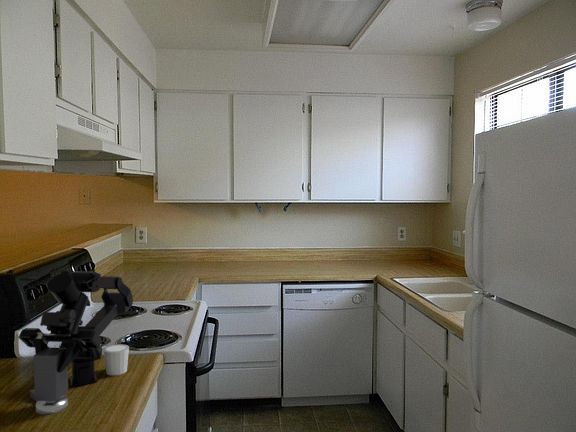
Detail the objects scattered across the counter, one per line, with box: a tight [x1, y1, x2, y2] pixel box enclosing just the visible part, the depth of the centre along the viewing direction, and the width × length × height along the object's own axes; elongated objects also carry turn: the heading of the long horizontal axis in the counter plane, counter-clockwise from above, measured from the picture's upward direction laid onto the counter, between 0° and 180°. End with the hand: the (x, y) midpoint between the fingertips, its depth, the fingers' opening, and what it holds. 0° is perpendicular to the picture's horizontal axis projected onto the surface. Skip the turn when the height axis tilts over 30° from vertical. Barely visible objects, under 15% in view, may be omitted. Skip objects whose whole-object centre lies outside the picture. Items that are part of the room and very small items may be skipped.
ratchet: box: [29, 388, 69, 415], centre depth 108 cm, size 13×7×4 cm, turn 50°
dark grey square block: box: [33, 346, 69, 402], centre depth 106 cm, size 5×5×11 cm
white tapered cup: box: [103, 343, 130, 376], centre depth 127 cm, size 7×7×7 cm
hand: (47, 371), depth 104 cm, fingers closed on dark grey square block, 5 cm apart
